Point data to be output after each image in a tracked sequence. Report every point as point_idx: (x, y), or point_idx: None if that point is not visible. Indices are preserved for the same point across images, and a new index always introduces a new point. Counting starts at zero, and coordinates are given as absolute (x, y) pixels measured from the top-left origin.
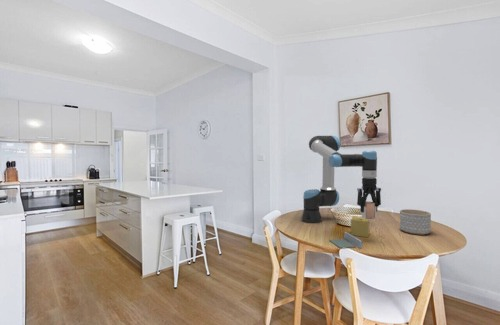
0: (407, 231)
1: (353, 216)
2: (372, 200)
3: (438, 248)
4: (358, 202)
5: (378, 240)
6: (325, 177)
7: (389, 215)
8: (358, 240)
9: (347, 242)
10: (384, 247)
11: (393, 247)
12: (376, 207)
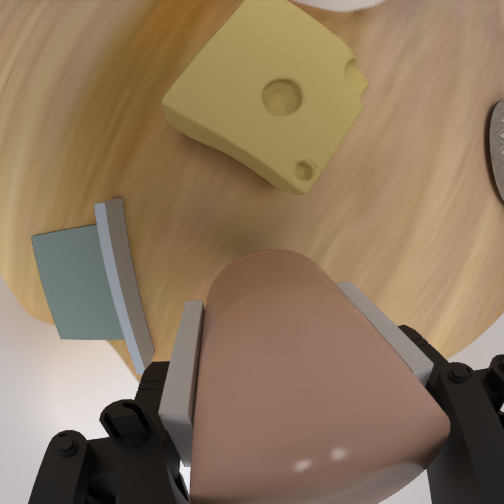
0: (493, 170)
1: (253, 3)
2: (463, 460)
3: (452, 341)
4: (61, 495)
5: (310, 246)
6: None
7: None
8: (132, 358)
9: (101, 285)
10: None
11: None
12: None
